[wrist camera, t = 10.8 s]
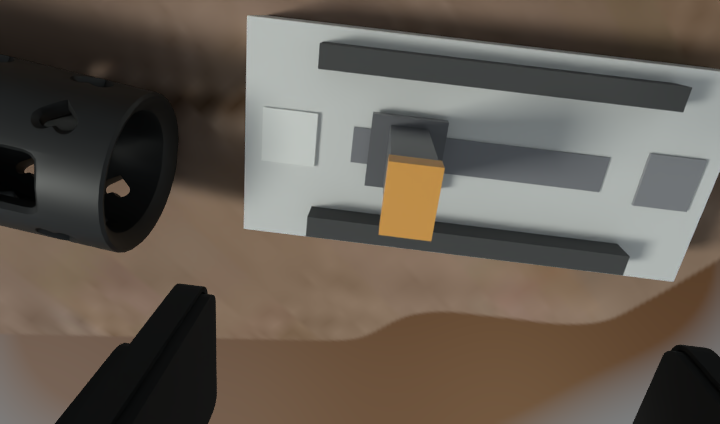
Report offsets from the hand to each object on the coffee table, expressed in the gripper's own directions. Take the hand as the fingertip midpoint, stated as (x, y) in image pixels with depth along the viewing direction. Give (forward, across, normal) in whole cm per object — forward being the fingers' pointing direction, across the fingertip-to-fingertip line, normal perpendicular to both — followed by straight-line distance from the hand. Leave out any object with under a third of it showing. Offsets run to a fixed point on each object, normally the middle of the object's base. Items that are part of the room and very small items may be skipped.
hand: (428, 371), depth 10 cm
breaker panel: (+22, -4, 0) cm, 22 cm away
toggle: (+18, 0, 0) cm, 18 cm away
